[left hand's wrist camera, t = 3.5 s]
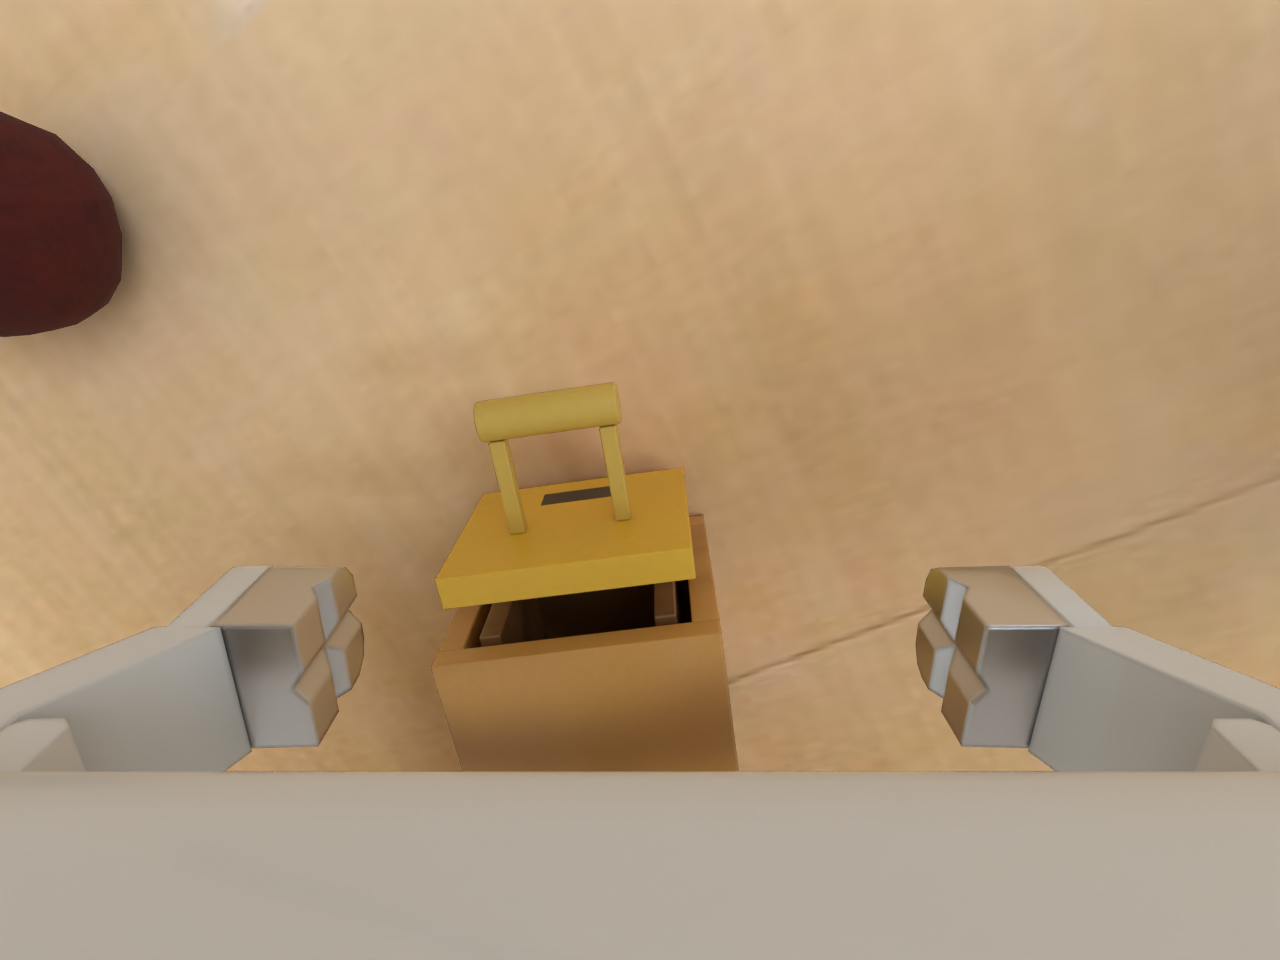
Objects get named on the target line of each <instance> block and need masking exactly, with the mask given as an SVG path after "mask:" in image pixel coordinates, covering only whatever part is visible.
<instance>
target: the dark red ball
mask: <svg viewBox="0 0 1280 960" xmlns="http://www.w3.org/2000/svg"><path fill="white" fill-rule="evenodd" d="M121 270H122V234H121V230H120V227H119V223H118V219H117V216H116V212H115V209H114V205H113V201H112V198H111V196H110V194H109V193H108V191H107V190H106V188H105V186H104V185H103V183H102V182H101V180H100V178H99V177H98V175H97V174H96V172H95V170H94V169H93V168H92V167H91V166H90V165H89V164H88V163H86V162H85V161H84V160H83V159H82V158H81V157H80V156H79V155H78V154H76V153H75V152H74V151H73V150H72V149H71V148H70V147H69V146H68V145H67V144H66V143H65V142H64V141H62V140H61V139H60V138H59V137H58V136H57V135H56V134H53V133H51V132H48V131H46V130H43V129H41V128H38V127H36V126H33V125H31V124H29V123H26V122H24V121H21V120H19V119H17V118H14V117H12V116H10V115H7V114H5V113H3V112H0V337H9V336H22V335H31V334H36V333H41V332H46V331H51V330H56V329H59V328H63V327H67V326H71V325H75V324H78V323H79V322H81V321H83V320H84V319H86V318H88V317H90V316H91V315H92V314H94V313H95V312H97V311H98V310H99V309H101V308H102V307H104V306H105V305H106V304H108V303H109V301H110V299H111V297H112V295H113V294H114V292H115V290H116V288H117V286H118V284H119V282H120V280H121Z"/></svg>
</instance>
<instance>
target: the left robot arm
mask: <svg viewBox="0 0 1280 960" xmlns="http://www.w3.org/2000/svg"><path fill="white" fill-rule="evenodd" d="M356 597H357V594H356V589H355V584H354V579H353V575H352V574H351V573H350V571H349V570H348V569H347V568H346V567H294V566H276V567H274V566H272V565H266V566H239V567H232V568H231V569H230V570H229V571H228V572H227V573H226V574H224V575H223V576H222V577H221V578H220V579H219V580H218V581H217V582H216V583H215V584H213V585H212V586H211V587H210V588H209V589H208V590H207V591H206V592H205V593H204V594H202V595H201V596H200V597H199V598H198V599H197V600H196V601H195V602H194V603H192V604H191V605H190V606H189V607H188V608H187V609H186V610H185V611H184V612H183V613H181V614H180V615H179V616H178V617H177V618H176V619H175V620H174V621H173V622H172V623H170V624H169V625H168V626H167V627H153V628H151V629H148V630H146V631H143V632H141V633H138V634H136V635H133V636H131V637H128V638H126V639H123V640H121V641H118V642H116V643H113V644H111V645H108V646H106V647H103V648H101V649H98V650H96V651H93V652H91V653H88V654H86V655H83V656H81V657H78V658H76V659H73V660H71V661H68V662H66V663H63V664H61V665H58V666H56V667H53V668H51V669H48V670H46V671H43V672H41V673H38V674H36V675H33V676H31V677H28V678H25V679H23V680H20V681H18V682H15V683H13V684H10V685H8V686H5V687H3V688H0V960H1280V689H1279V688H1277V687H1274V686H1272V685H1269V684H1267V683H1264V682H1262V681H1259V680H1257V679H1254V678H1252V677H1249V676H1247V675H1244V674H1242V673H1239V672H1237V671H1234V670H1232V669H1229V668H1227V667H1224V666H1222V665H1219V664H1217V663H1214V662H1212V661H1209V660H1207V659H1204V658H1202V657H1199V656H1197V655H1194V654H1192V653H1189V652H1187V651H1184V650H1182V649H1179V648H1177V647H1174V646H1172V645H1169V644H1167V643H1164V642H1162V641H1159V640H1157V639H1154V638H1152V637H1149V636H1147V635H1144V634H1142V633H1139V632H1137V631H1134V630H1132V629H1129V628H1127V627H1113V626H1112V625H1111V624H1110V623H1109V622H1107V621H1106V620H1105V619H1104V618H1103V617H1102V616H1101V615H1100V614H1099V613H1098V612H1096V611H1095V610H1094V609H1093V608H1092V607H1091V606H1090V605H1089V604H1088V603H1087V602H1085V601H1084V600H1083V599H1082V598H1081V597H1080V596H1079V595H1078V594H1077V593H1076V592H1074V591H1073V590H1072V589H1071V588H1070V587H1069V586H1068V585H1067V584H1066V583H1065V582H1063V581H1062V580H1061V579H1060V578H1059V577H1058V576H1057V575H1056V574H1055V573H1054V572H1052V571H1051V570H1050V569H1049V568H1047V567H1043V566H1040V565H1033V566H987V567H945V568H935V569H931V570H930V572H929V574H928V577H927V579H926V582H925V588H924V593H923V597H924V598H925V600H926V601H927V603H928V604H929V606H930V608H931V609H932V610H931V611H930V612H929V613H928V614H927V615H926V616H925V617H924V618H923V619H922V620H921V621H920V622H919V623H918V630H917V637H916V654H917V664H918V667H919V670H920V673H921V677H922V678H923V680H924V682H925V684H926V686H927V688H928V689H929V690H930V691H932V692H934V693H935V694H937V695H939V696H940V697H942V698H943V705H942V710H941V712H942V713H943V715H944V717H945V719H946V720H947V722H948V724H949V725H950V727H951V729H952V730H953V732H954V734H955V735H956V737H957V739H958V741H959V742H960V744H961V746H964V747H1002V748H1029V750H1028V751H1029V752H1030V753H1032V754H1033V755H1034V756H1036V757H1037V758H1038V759H1040V760H1041V761H1042V762H1044V763H1045V764H1046V765H1048V766H1049V767H1050V768H1052V769H1053V770H1054V771H769V772H224V771H226V770H227V769H228V768H230V767H231V766H233V765H234V764H235V763H237V762H238V761H239V760H241V759H242V758H243V757H245V756H246V755H247V754H249V753H250V752H251V751H252V750H251V748H277V747H313V746H319V744H320V742H321V741H322V739H323V737H324V736H325V734H326V732H327V730H328V729H329V727H330V725H331V724H332V722H333V720H334V719H335V717H336V715H337V713H338V712H339V710H338V705H337V698H338V697H340V696H341V695H343V694H345V693H346V692H348V691H350V690H351V689H352V688H353V686H354V684H355V682H356V680H357V678H358V676H359V674H360V670H361V666H362V661H363V657H364V635H363V629H362V623H361V622H360V621H359V620H358V619H357V618H356V617H355V616H354V615H353V614H352V613H351V612H350V611H349V610H348V609H349V608H350V606H351V604H352V603H353V601H354V600H355V598H356Z"/></svg>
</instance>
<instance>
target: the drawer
mask: <svg viewBox="0 0 1280 960" xmlns="http://www.w3.org/2000/svg"><path fill="white" fill-rule="evenodd" d="M620 422H621V408H620V400H619V394H618V390H617V386H616V384H615V383H613V382H611V383H604V384H597V385H590V386H583V387H576V388H569V389H562V390H555V391H548V392H541V393H534V394H527V395H520V396H513V397H506V398H499V399H492V400H485V401H478V402H477V403H476V404H475V406H474V423H475V428H476V431H477V434H478V436H479V438H480V440H481V441H482V442H489V448H490V452H491V456H492V460H493V465H494V469H495V473H496V477H497V481H498V485H499V490H500V492H494V493H486V494H483V496H482V497H481V499H480V501H479V503H478V505H477V506H476V508H475V510H474V512H473V513H472V515H471V517H470V519H469V521H468V522H467V524H466V526H465V528H464V529H463V531H462V533H461V535H460V536H459V538H458V540H457V542H456V544H455V545H454V547H453V549H452V551H451V552H450V554H449V556H448V558H447V560H446V561H445V563H444V565H443V567H442V568H441V570H440V572H439V574H438V576H437V577H436V579H435V582H436V586H437V589H438V592H439V596H440V599H441V603H442V606H443V609H451V608H459V607H467V606H476V605H484V604H492V603H493V604H492V607H491V609H490V612H489V615H488V617H487V620H486V622H485V625H484V627H483V630H482V633H481V635H480V638H479V639H480V642H481V646H482V647H485V646H493V645H502V644H510V643H519V642H527V641H536V640H544V639H553V638H561V637H570V636H578V635H587V634H595V633H604V632H612V631H621V630H629V629H638V628H646V627H655V626H663V625H672V624H680V623H685V616H684V609H683V602H682V596H681V589H680V582H679V581H681V580H689V579H695V578H696V573H695V564H694V555H693V546H692V537H691V528H690V520H689V511H688V502H687V493H686V485H685V478H684V471H683V468H674V469H667V470H659V471H652V472H644V473H636V474H629V475H625V470H624V464H623V458H622V452H621V446H620V440H619V434H618V428H617V424H619V423H620ZM599 426H600V428H599V431H600V436H601V442H602V448H603V453H604V459H605V464H606V470H607V476H608V477H606V478H599V479H591V480H584V481H576V482H569V483H561V484H554V485H546V486H539V487H531V488H524V489H519V486H518V482H517V478H516V473H515V469H514V464H513V460H512V456H511V451H510V447H509V443H508V439H512V438H519V437H526V436H534V435H541V434H548V433H555V432H563V431H570V430H577V429H584V428H592V427H599Z"/></svg>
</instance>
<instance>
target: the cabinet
mask: <svg viewBox="0 0 1280 960" xmlns="http://www.w3.org/2000/svg"><path fill="white" fill-rule="evenodd" d="M689 520H690V528H691V537H692V546H693V555H694V564H695V573H696V578H695V579H689V580H681V581H679V582H680V589H681V596H682V602H683V609H684V616H685V623H680V624H672V625H663V626H655V627H646V628H638V629H629V630H621V631H612V632H604V633H595V634H587V635H578V636H570V637H561V638H553V639H544V640H536V641H527V642H519V643H510V644H502V645H493V646H485V647H482V646H481V642H480V639H479V638H480V635H481V633H482V630H483V627H484V625H485V622H486V620H487V617H488V615H489V612H490V609H491V607H492V604H493V603H492V604H484V605H476V606H467V607H459V609H458V611H457V613H456V615H455V617H454V619H453V621H452V624H451V626H450V628H449V630H448V632H447V634H446V636H445V638H444V641H443V643H442V645H441V647H440V649H439V652H438V654H437V656H436V658H435V660H434V662H433V664H432V666H431V670H432V673H433V676H434V679H435V683H436V686H437V689H438V692H439V696H440V699H441V702H442V705H443V708H444V712H445V715H446V718H447V721H448V725H449V728H450V731H451V734H452V738H453V741H454V744H455V747H456V751H457V754H458V757H459V760H460V764H461V767H462V770H463V772H739V768H738V760H737V752H736V744H735V736H734V728H733V720H732V713H731V705H730V697H729V689H728V681H727V673H726V665H725V657H724V649H723V641H722V633H721V627H720V621H719V614H718V608H717V601H716V595H715V588H714V582H713V576H712V569H711V563H710V556H709V550H708V543H707V537H706V530H705V523H704V516H703V514H702V515H700V516H692V517H689Z"/></svg>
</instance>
